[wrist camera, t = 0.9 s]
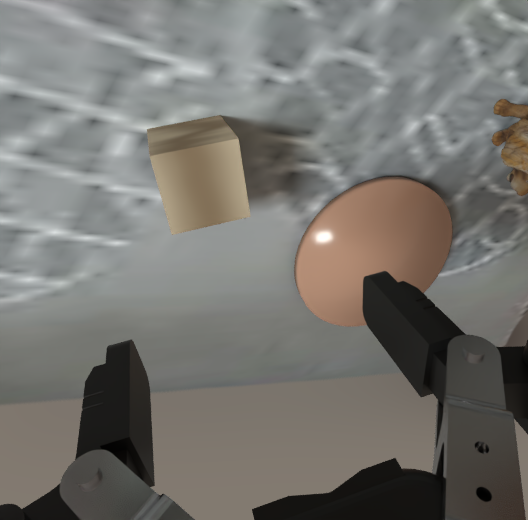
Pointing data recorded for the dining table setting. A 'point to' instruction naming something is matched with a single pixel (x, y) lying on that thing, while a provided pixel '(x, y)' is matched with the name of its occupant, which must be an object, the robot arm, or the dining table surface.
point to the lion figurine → (514, 144)
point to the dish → (371, 245)
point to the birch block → (199, 173)
